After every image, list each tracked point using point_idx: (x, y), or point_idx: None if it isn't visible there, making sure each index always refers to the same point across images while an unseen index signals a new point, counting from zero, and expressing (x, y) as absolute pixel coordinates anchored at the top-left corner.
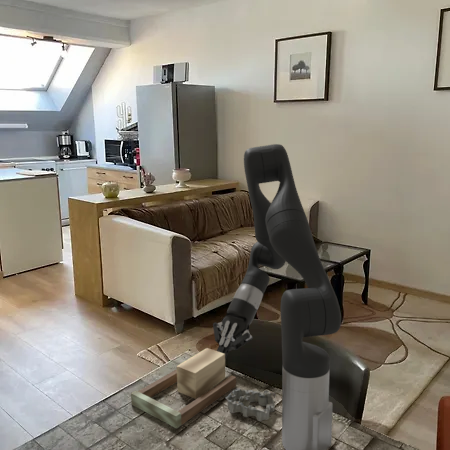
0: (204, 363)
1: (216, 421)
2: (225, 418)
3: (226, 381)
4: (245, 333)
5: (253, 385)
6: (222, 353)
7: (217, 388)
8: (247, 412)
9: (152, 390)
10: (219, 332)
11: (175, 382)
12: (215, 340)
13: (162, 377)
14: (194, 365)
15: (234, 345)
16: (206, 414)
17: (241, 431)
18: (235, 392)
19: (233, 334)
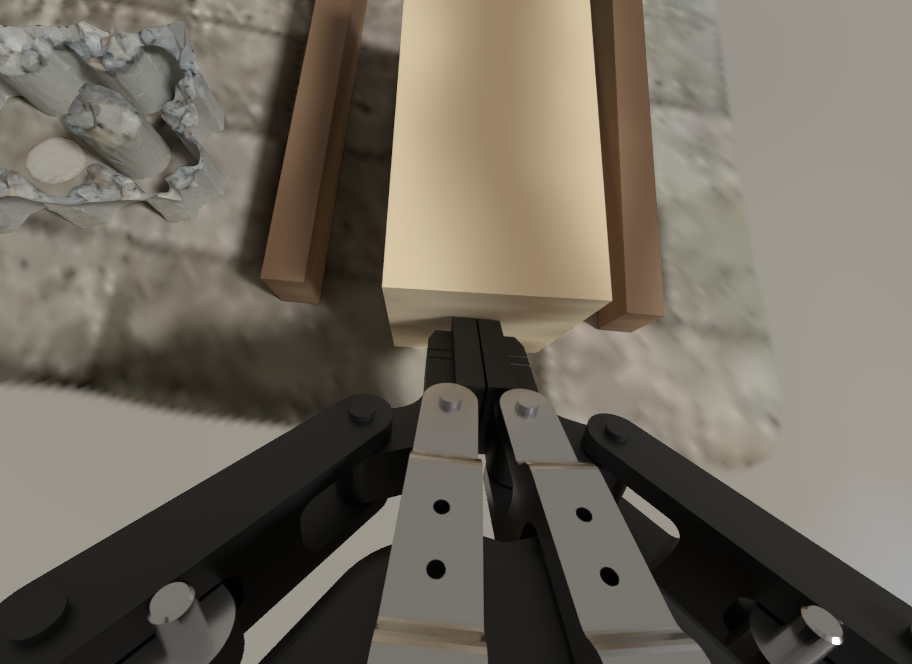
0: (438, 66)
1: (222, 17)
2: (193, 48)
3: (294, 203)
4: (81, 634)
5: (184, 365)
6: (407, 279)
7: (303, 117)
8: (70, 75)
9: (604, 11)
10: (697, 566)
11: None
12: (621, 419)
13: (645, 77)
14: (485, 15)
15: (323, 411)
16: (293, 38)
17: (77, 6)
18: (203, 168)
19: (395, 537)
